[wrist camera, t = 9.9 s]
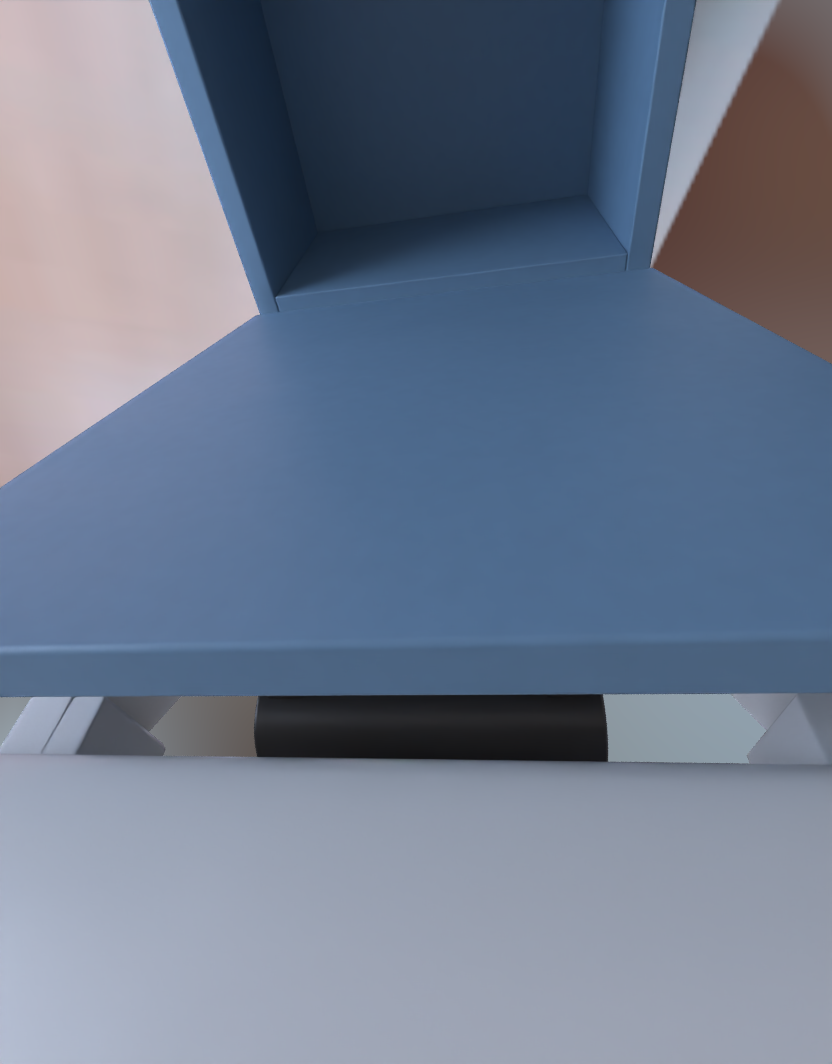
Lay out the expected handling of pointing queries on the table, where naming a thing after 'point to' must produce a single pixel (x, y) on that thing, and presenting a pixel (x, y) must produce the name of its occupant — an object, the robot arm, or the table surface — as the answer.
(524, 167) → the toy chest
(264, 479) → the chest lid
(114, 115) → the table surface
